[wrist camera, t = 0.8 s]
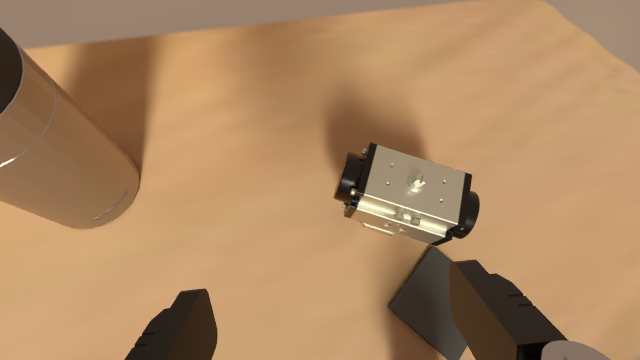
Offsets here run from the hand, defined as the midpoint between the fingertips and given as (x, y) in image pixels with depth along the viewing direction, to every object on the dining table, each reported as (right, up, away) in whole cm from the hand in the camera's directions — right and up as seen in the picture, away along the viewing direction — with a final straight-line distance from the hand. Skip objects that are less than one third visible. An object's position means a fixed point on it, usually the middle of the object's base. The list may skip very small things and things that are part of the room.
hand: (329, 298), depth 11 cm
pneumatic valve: (+6, -1, +26) cm, 27 cm away
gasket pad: (+12, -9, +23) cm, 28 cm away
